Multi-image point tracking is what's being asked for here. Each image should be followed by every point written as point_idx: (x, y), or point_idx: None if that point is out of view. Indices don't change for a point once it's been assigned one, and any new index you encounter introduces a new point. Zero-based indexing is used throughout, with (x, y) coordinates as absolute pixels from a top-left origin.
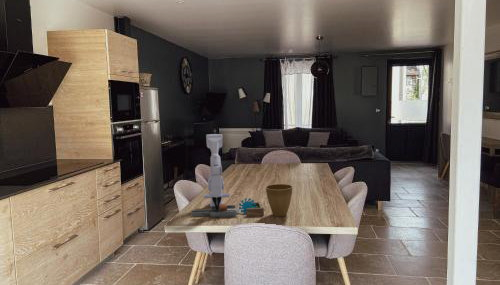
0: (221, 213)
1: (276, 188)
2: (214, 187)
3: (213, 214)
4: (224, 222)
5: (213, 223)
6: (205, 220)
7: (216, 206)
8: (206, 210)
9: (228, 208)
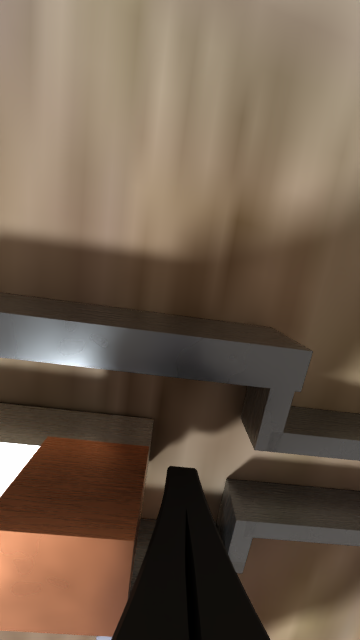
0: (140, 322)
1: None
2: None
3: (257, 336)
4: (135, 62)
5: (295, 64)
6: (357, 248)
7: (198, 534)
8: (297, 519)
9: None
